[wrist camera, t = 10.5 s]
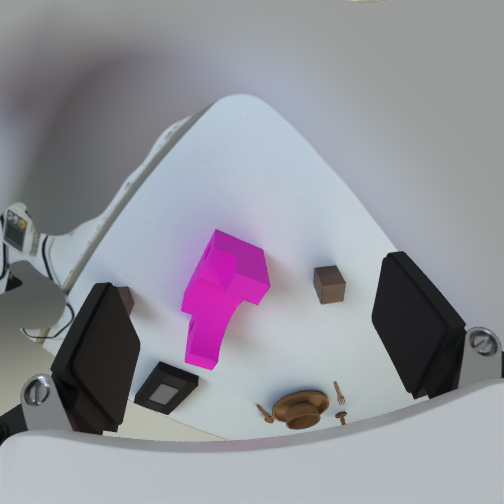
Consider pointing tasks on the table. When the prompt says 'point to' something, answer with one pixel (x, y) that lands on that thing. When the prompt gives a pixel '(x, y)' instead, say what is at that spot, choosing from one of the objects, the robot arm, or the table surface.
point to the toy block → (221, 293)
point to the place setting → (302, 409)
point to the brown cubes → (325, 284)
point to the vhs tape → (165, 388)
